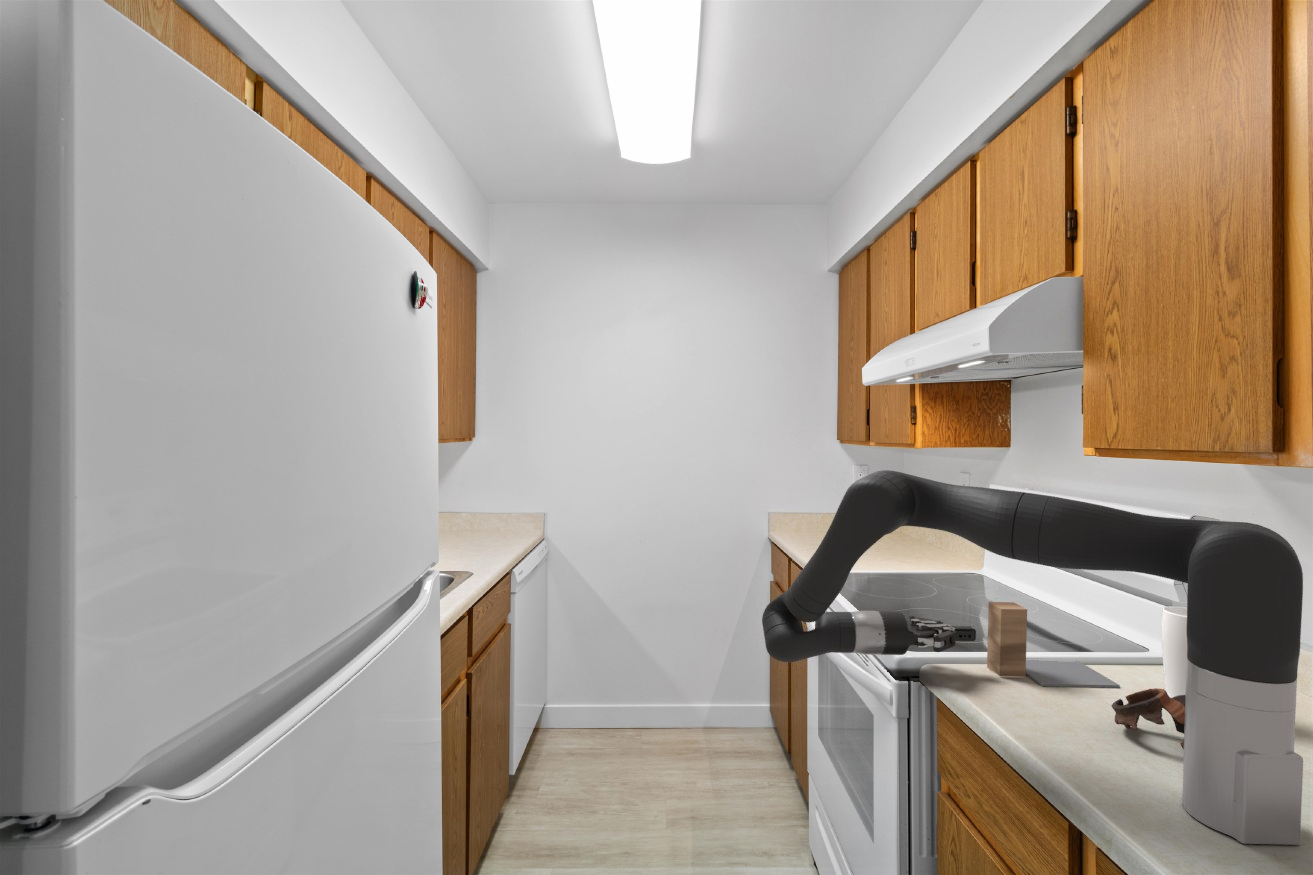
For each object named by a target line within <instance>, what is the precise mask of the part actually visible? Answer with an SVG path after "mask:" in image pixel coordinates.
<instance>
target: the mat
mask: <svg viewBox="0 0 1313 875" xmlns="http://www.w3.org/2000/svg"><path fill="white" fill-rule="evenodd" d="M1026 676H1027V677H1028V678H1029V679H1031V680H1033V681H1034V682H1035V683H1037V684H1038V685H1040V686H1041V687H1056V688H1057V687H1062V688H1114V689H1115V688H1118V689H1119V688H1121V685H1120V684H1118V683H1117V682H1115V681H1114V680H1112V679H1110V678H1109V677H1107V676H1105V675H1103V674H1102V673H1100V672H1098V671H1097V670H1095V669H1093V668H1091V667H1089V666H1088V665H1086V664H1085V663H1082V662H1081V661H1079V660H1078V662H1077V661H1075V662H1058V661H1039V660H1026Z"/></svg>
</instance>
